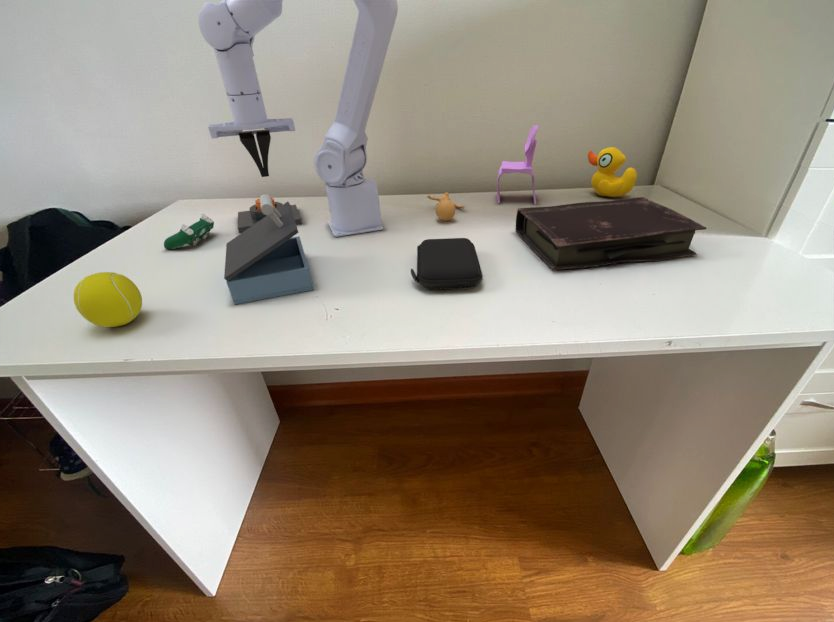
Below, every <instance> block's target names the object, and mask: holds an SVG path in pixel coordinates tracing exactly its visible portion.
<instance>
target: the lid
mask: <svg viewBox="0 0 834 622" xmlns="http://www.w3.org/2000/svg"><path fill="white" fill-rule="evenodd" d="M259 198H260V205H261V211H262V213H263V214H264V215H267V216H266V217H264V218H263V219H261V220H260V221H259V222H257V223H256V224H254V225H253V226H251V227H250V228H248V229H247V230H245V231H244V232H242V233H239V234H238V235H236V236H235V237H234V238H232V239H231V240H229V241H228V242H226V245H225V247H226V248H225V262H224V275H223V276H224V277H223V279H224V280H225V281H226V282H227V281H228V280H230V279H231V278H233V277H234V276H236V275H237V274H239V273H240V272H242V271H243V270H245V269H246V268H247V267H249V266H250V265H252V264H253V263H255V262H256V261H258V260H259V259H261V258H262V257H264V256H265V255H267V254H268V253H269V252H271V251H272V250H274V249H275V248H277V247H278V246H280V245H281V244H283V243H284V242H286V241H287V240H288V239H290V238H291V237H295V236H296V235H297V234H299V230H298V229H299V228H298V225H296V222H295V219H294V216H293V212H292V209H291V206H290V205H291V203H290V202H289V201H286V202H285V203H284V204H283V203H282V204H283V205H282V206H280V207H279V208H277V209H276V208H275V207H274V206H273V205H272V200H271V198H272V196H270V195H269V194H266V193H263V194H261V195H260V197H259Z"/></svg>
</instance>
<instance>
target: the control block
mask: <svg viewBox="0 0 834 622" xmlns="http://www.w3.org/2000/svg"><path fill="white" fill-rule="evenodd" d="M274 202H275V206H276V207H275V208H276V209H277V208H279V207H280V206H282V205H283V203H282V202H280V201H274ZM290 206H291V209H292V212H293V216H294V219H295V222H296V226H299V225H300V226H301V225H303V223H302V219H301V216H300V212H299V209H298V207H297V205H296V204H290ZM266 216H267V215H264V214H263V213H262V211H261V210H257V206H256V203H255V204H253V205H252V206H249V210H243V211H238V212H237V230H238V233H239V234H241V233H242V232H244V231H245V230H247V229H248V228H250V227H251V226H253V225H254V224H256V223H257V222H259V221H260V220H261V219H263V218H264V217H266Z"/></svg>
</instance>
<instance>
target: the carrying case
mask: <svg viewBox="0 0 834 622" xmlns="http://www.w3.org/2000/svg"><path fill="white" fill-rule="evenodd" d="M410 275H411V277H412V279H413V280H414V282H416V283H417V284H420V285H421V286H422V287H423V288H424V289H426V290H431V291H432V290H433V291H436V290H461V289H473V288H476V287H478V285H480V284H481V282H482V281H483V277H484V276H483V271H482V268H481V264H480V262H479V257H478V253H477V249H476V247H475V244H474V242H472V241H471V239H469V238H467V237H451V238H449V237H447V238H427V239H424V240H422V242H421V243H420V244H418V245H417V247H416V272H415V270H414V268H411V269H410Z"/></svg>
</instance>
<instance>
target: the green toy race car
mask: <svg viewBox="0 0 834 622" xmlns="http://www.w3.org/2000/svg"><path fill="white" fill-rule="evenodd" d="M214 225H215V222H214V221H213V219H212V218H210V216H208V215H206V214H204V213H201V216H200V218H199V220H198V221H196V222H194V223H192V224H191V225H189V226H188V225H186V224H184V223H183V224H181V228H180V229H179V231H178V232H176V233H173V235H170V236H168V237H167V238H166V239H164V241H163V248H164V249H166V250H176V249H179V248H182V247H185V246H187V245H189V246H193V247H194V246H196V245H197V244H198V240H197V239H200V240H206V239H207V238H208V233H209V232H211V231H212V230H213V229H214Z"/></svg>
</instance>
